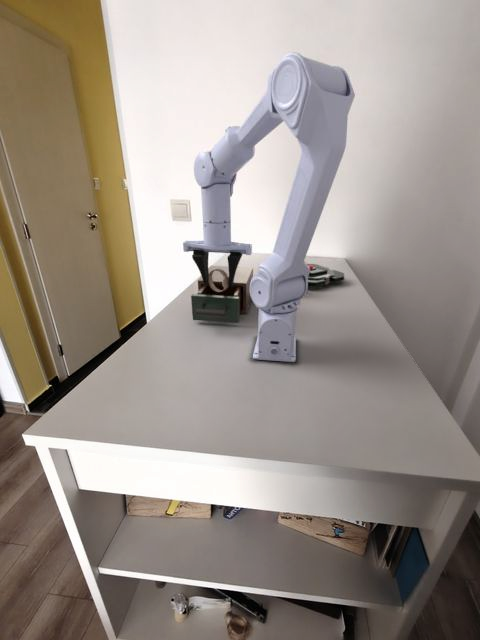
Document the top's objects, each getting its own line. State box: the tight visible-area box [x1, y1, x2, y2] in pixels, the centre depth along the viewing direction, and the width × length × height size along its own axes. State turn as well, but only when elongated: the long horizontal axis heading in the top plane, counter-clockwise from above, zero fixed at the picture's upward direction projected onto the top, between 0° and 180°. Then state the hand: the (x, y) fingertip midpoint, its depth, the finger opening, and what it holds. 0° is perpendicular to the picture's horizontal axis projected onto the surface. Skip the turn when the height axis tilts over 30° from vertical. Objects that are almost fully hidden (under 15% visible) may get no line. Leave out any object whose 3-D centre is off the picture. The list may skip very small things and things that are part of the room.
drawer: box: [190, 284, 243, 324], centre depth 76 cm, size 17×10×6 cm, turn 175°
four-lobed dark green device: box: [306, 262, 345, 288], centre depth 106 cm, size 18×18×5 cm
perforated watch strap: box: [208, 269, 229, 292], centre depth 74 cm, size 3×5×5 cm, turn 58°
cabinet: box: [197, 265, 254, 314], centre depth 86 cm, size 14×12×8 cm
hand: (219, 285), depth 75 cm, fingers closed on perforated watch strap, 5 cm apart
